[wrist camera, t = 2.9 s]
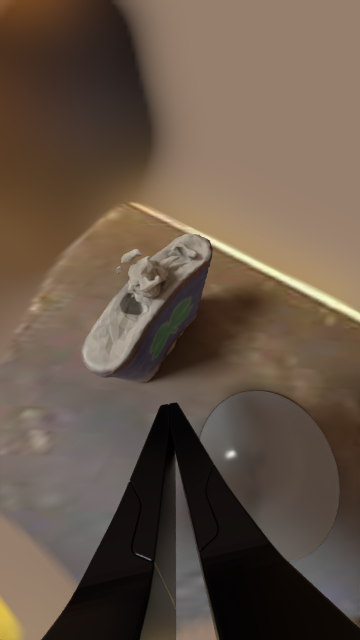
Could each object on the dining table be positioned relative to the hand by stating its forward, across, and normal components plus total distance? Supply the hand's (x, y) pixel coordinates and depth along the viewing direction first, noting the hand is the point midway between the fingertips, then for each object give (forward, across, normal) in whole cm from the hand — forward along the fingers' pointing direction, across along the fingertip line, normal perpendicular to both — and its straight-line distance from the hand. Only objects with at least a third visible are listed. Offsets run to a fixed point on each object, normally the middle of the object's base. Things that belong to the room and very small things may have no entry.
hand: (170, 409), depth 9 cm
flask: (+9, 0, +1) cm, 9 cm away
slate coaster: (+1, -6, +8) cm, 10 cm away
